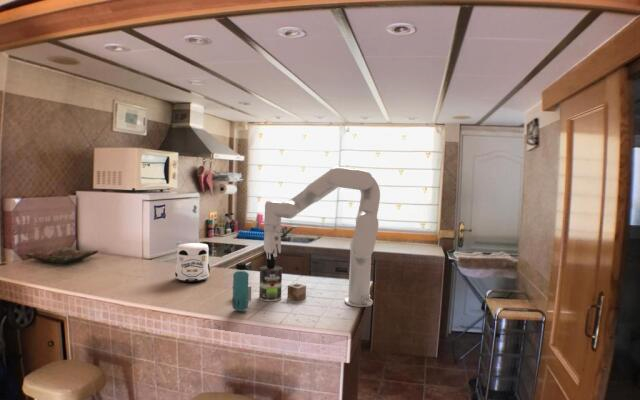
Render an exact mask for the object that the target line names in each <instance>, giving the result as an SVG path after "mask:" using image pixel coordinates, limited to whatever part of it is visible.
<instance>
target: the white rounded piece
mask: <svg viewBox="0 0 640 400" xmlns="http://www.w3.org/2000/svg"><path fill="white" fill-rule="evenodd" d="M209 250H210V248H209V245H208V244H207V243H201V242H199V243H197V242H191V243H190V242H189V243H187V242H186V243H181V244H178V245H177V246H176V252H177V253H176V266H175V269H174V276H175V278H176V279H177V280H178V281H180V282H184V283H195V282H201V281H205V280H206V279H208V278H209V276H210V273H211V268H210V264H209Z"/></svg>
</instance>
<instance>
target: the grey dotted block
mask: <svg viewBox="0 0 640 400" xmlns="http://www.w3.org/2000/svg"><path fill="white" fill-rule="evenodd" d="M251 284H252V283H250V282H248V301H250V300H252V285H251Z"/></svg>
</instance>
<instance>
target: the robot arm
mask: <svg viewBox="0 0 640 400" xmlns="http://www.w3.org/2000/svg"><path fill="white" fill-rule="evenodd" d="M338 188H342V189H349V190H350V189H351V190H357V191H358V190H359V192H360V200H359V206H358V211H357V215H356V218H355V228H354V233H353V237H352V238H351V241H350V243H349V244H350V245H349V247H350V248H349V253H350V254H349V257H350V258H349V274H348V295H347V296H346V297H345V298H344V303H345V304H346V305H347V306H351V307H354V308H355V307H356V308H367V307H370V306H372V305H373V303H374V300H372V298H371V295H370V293H371V292H370V291H371V289H370V287H371V274H372V273H371V270H372V254H373V253H374V249H375V246H376V245H375V244H376V240H377V237H378V236H377V235H378V230H379V218H378V211H379V208H380V207H379V206H380V201H381V200H380V199H381V191H380V190H381V189H380V185H378V182H377V180H376V179H375V178H374V177H373V175H372V173H370V172H369V171H367V170H363V169H353V168H346V167H342V166H341V167H340V166H334V167H332V168H330V169H329V170H327V171H326V172H325V173H324V174H322V175H321V176H320V177H318V178H316V179H315V180H313V181H312V182H310V183H309V184H308V185H307V186H306V187H305V188H304V189H303V190H302V191H301V192H299V193H298V194H297V195H295V196H294V197H292V198H290V199H289V200H288V201H284V202H281V201H278V200H266V202H265V203H264V221H263V225H264V226H263V231H264V234H263V235H264V236H263V237H264V238H263V250H264V251H265V253H266V265H267V268H274V267H275V266H276V257H278V254H281V252H282V237H281V229H282V227H281V226H282V218H283V219H288V220H290V219H293V218H295V217H296V216H297V215H298V214H300V213H301V212H303V211H304V210H305V209H307V208H308V207H310V206H312V205H313V204H314V203H315V204H316V203H318V202H319V201H321V200H322V199H323V198H325V197H326V196H329V194H331V193H332V192H334V191H335V190H336V189H338Z"/></svg>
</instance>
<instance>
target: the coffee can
mask: <svg viewBox="0 0 640 400" xmlns="http://www.w3.org/2000/svg"><path fill="white" fill-rule="evenodd" d="M282 279H283V267H282V266H279V265H275V267H274V268H267V264H266V265H262V266H260V267H259V292H258V293H259V295H258V296H259V297H258V298H259V300H260V301H264V302H277V301H280V300H281V299H282V287H283V286H282V284H283V283H282V282H283V281H282Z"/></svg>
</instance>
